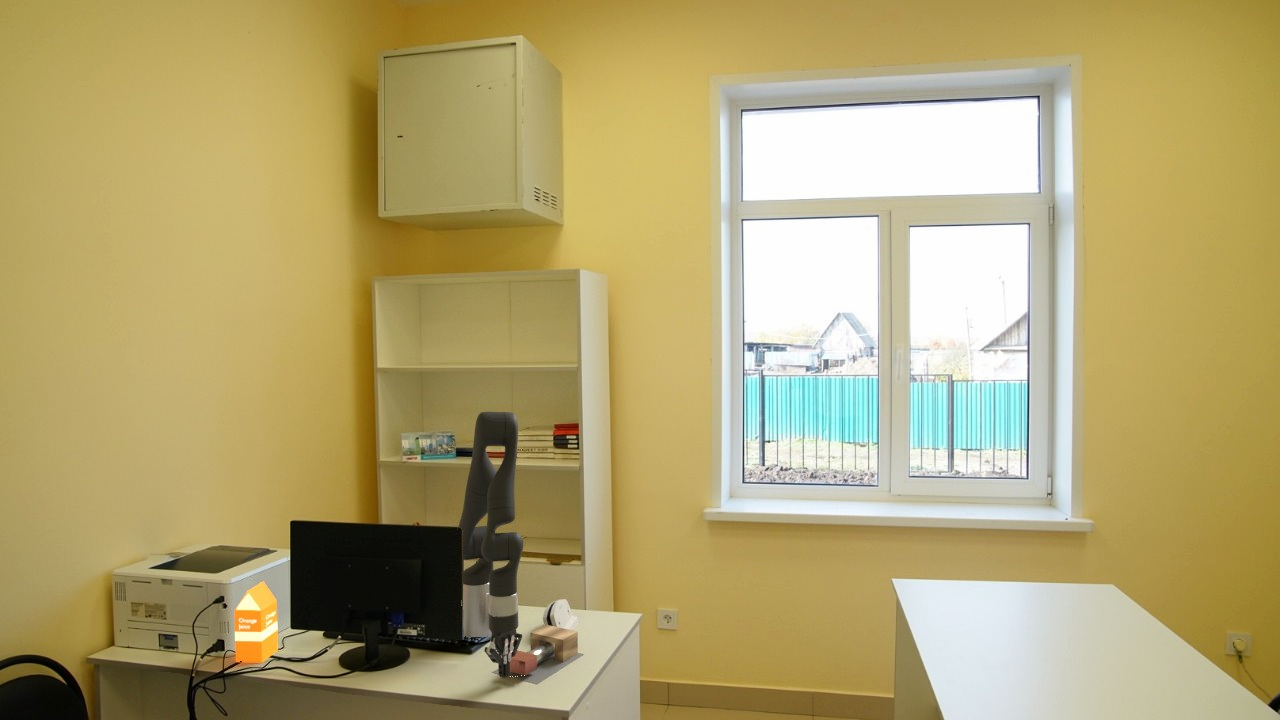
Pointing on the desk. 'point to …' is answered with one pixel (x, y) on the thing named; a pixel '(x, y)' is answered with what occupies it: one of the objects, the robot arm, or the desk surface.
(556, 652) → the wooden block
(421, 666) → the desk surface
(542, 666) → the mat
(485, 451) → the robot arm
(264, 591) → the orange juice
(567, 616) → the white rounded piece
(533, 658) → the pin
